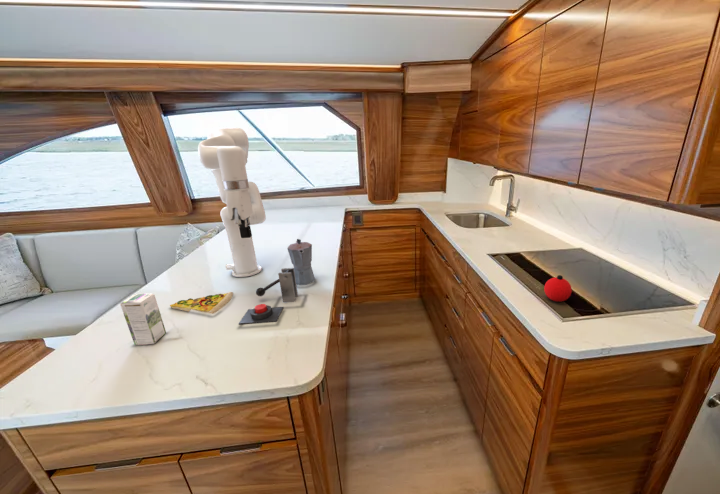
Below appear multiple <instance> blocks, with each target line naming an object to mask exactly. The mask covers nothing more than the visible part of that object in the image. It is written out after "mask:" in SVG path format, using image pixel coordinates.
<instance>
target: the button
mask: <svg viewBox="0 0 720 494" xmlns="http://www.w3.org/2000/svg"><path fill="white" fill-rule="evenodd" d="M266 305H267V304H265V303H259V304H257V305H255V306H254V308H255V313H257V314H258V313H264V312H266V311H267V307H266Z"/></svg>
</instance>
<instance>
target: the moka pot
mask: <svg viewBox="0 0 720 494" xmlns="http://www.w3.org/2000/svg"><path fill="white" fill-rule="evenodd" d="M287 252H288V255H289V259H290V261H291V265H293V268H294V272H295V279H296V285H298V286H306V285H309V284H312V283H314V281H316V278H315V277H316V276H315V273H314V270H313V267H312V259H313V244H312V243H310V242H307V241H302V240H301V239H299V238H297V239H296V241H295V243H291V244H289V245H288V246H287Z"/></svg>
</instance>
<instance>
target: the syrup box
mask: <svg viewBox="0 0 720 494" xmlns="http://www.w3.org/2000/svg"><path fill="white" fill-rule="evenodd" d="M119 305H120V308H121V312H122V313H123V317H124V319H125V322H126V325H127V328H128V330H129V333H130V336H131V338H132V341H133V345H134V346H142V345H143V346H145V345H155V344H156V343H157V342H158V341H159V340H161V339H162V337H163V336H165V335H166V334H167V330H166V327H165V325H164V321H163V317H162V314H161V311H160V308H159V304H158V302H157V297H156V294H155V293H147V292H146V293H143V292H142V293H135V294H133V295H132V296H129V297H128V298H126V299H125V300H123V301H122V302H120V304H119Z"/></svg>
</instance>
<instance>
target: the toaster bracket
mask: <svg viewBox="0 0 720 494" xmlns="http://www.w3.org/2000/svg"><path fill="white" fill-rule="evenodd" d="M287 270H289V271H290V272H286V271H287ZM280 271H281V272H279V273H278V279H279V281H280V282H279V285H280V286H279V287H280V292H281V299H282V303H296V300H297V298H296V297H298V296H299V293H298V286H297V284H296V279H295V272H294V267H285V268H284V267H283V268H281V270H280ZM284 272H285V273H284ZM292 274H293V275H292Z"/></svg>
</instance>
